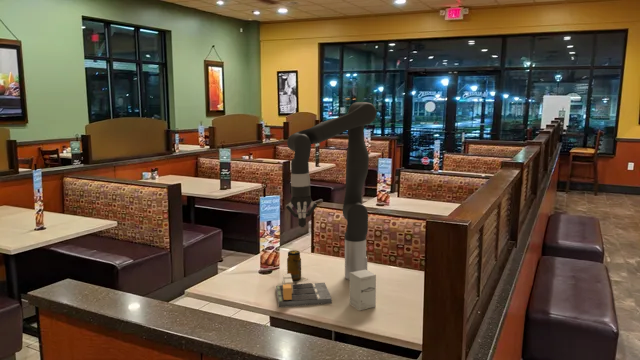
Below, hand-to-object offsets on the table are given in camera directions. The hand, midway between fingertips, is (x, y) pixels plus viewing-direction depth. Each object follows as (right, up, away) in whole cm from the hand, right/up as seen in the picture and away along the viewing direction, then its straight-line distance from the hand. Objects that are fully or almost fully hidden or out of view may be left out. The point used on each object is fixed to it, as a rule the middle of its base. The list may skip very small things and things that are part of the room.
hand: (302, 226), depth 194 cm
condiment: (-4, -24, +16) cm, 29 cm away
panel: (0, -27, -4) cm, 27 cm away
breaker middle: (-5, -25, -5) cm, 26 cm away
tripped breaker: (-5, -26, -11) cm, 28 cm away
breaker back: (-6, -24, +1) cm, 25 cm away
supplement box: (+23, -28, -13) cm, 39 cm away
